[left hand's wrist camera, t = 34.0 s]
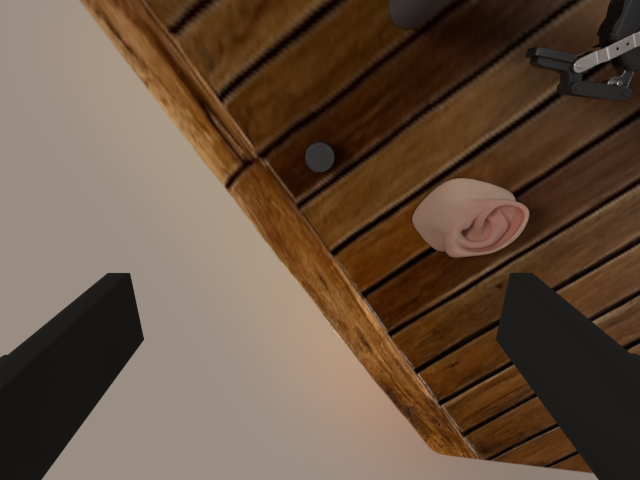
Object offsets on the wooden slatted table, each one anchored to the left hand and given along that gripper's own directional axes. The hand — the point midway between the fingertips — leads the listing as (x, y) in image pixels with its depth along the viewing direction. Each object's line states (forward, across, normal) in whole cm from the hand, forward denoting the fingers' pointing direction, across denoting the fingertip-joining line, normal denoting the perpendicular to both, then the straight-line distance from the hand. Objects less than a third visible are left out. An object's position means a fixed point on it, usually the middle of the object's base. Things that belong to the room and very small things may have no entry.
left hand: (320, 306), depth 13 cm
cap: (+36, 0, 0) cm, 36 cm away
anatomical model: (+38, +20, -8) cm, 43 cm away
